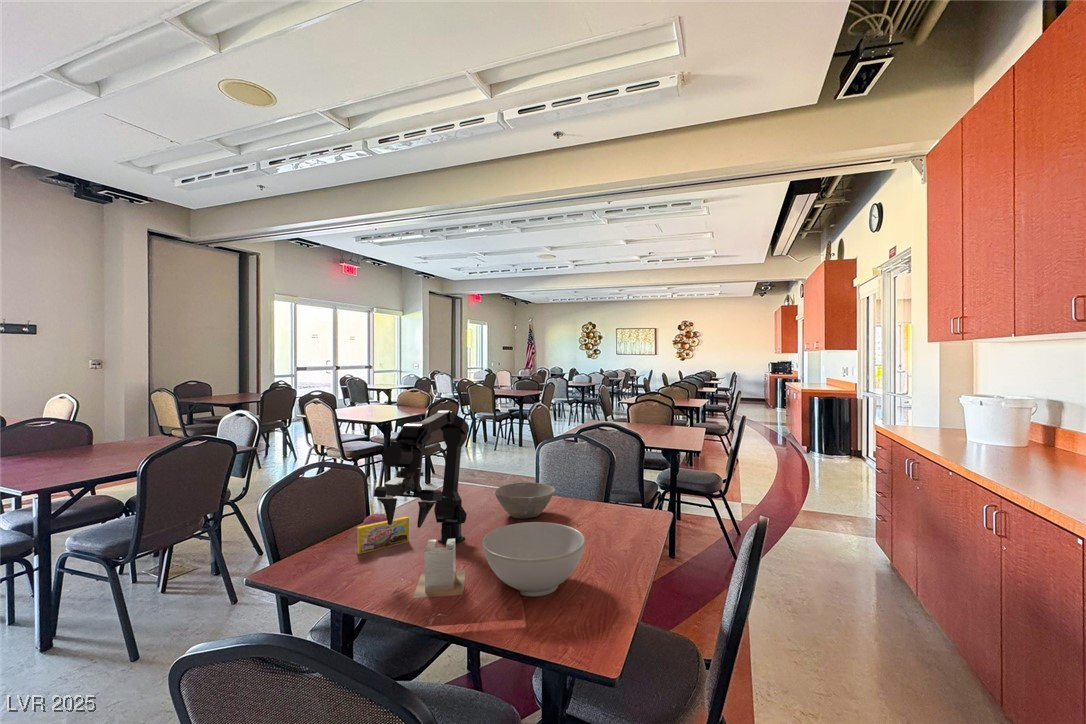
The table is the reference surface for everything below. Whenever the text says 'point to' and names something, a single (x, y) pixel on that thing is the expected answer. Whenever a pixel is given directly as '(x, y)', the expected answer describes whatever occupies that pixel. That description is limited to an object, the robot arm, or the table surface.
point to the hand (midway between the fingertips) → (404, 526)
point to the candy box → (382, 535)
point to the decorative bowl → (534, 555)
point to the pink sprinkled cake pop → (374, 517)
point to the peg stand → (456, 591)
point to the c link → (440, 566)
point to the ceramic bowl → (524, 498)
